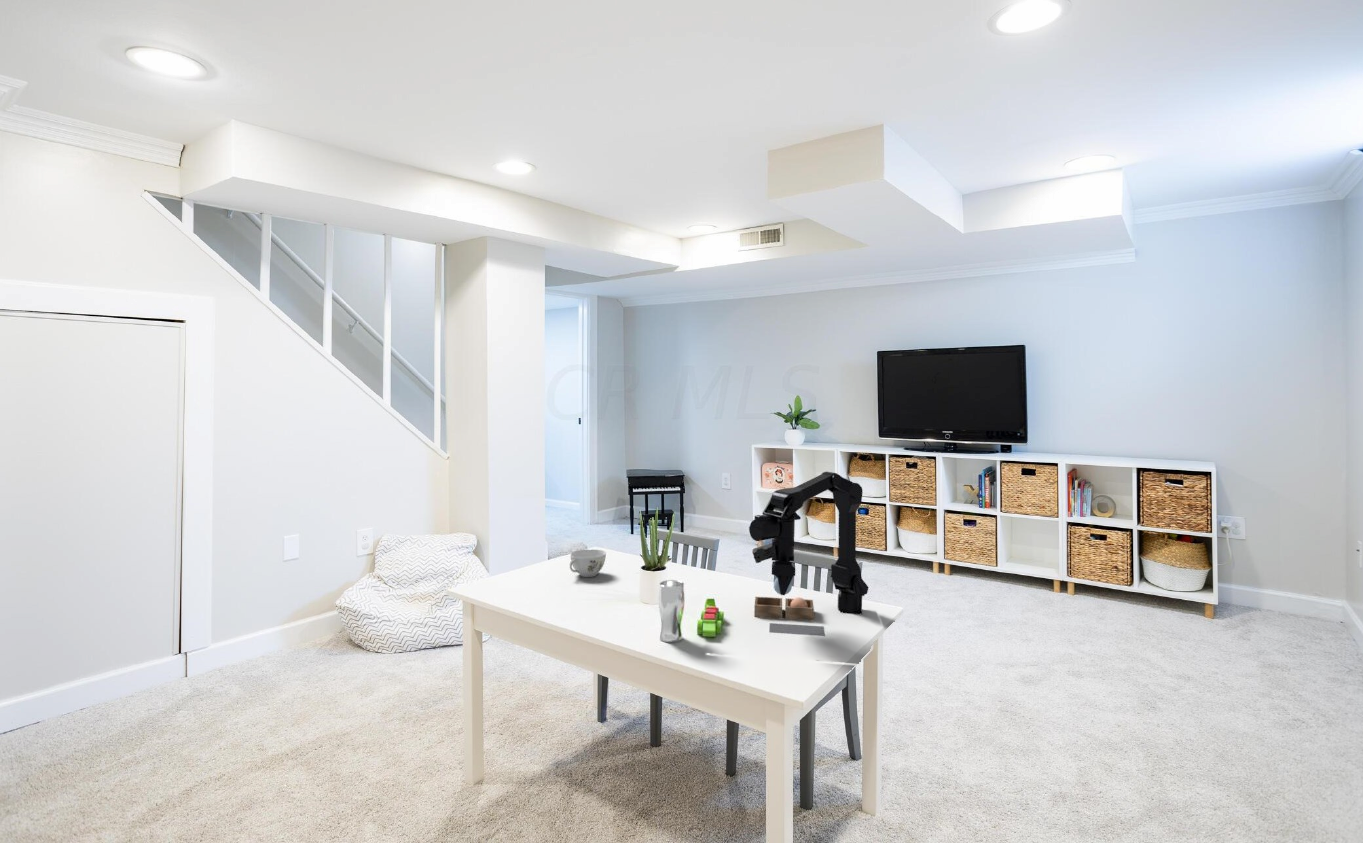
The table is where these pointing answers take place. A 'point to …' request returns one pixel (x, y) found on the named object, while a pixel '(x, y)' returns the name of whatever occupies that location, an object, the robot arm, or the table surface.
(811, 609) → the wooden cubby box
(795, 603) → the ball terracotta
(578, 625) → the table surface
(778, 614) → the open wooden crate
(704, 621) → the toy crocodile
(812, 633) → the mat
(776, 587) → the ball slate
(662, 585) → the beer glass
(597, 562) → the teacup
